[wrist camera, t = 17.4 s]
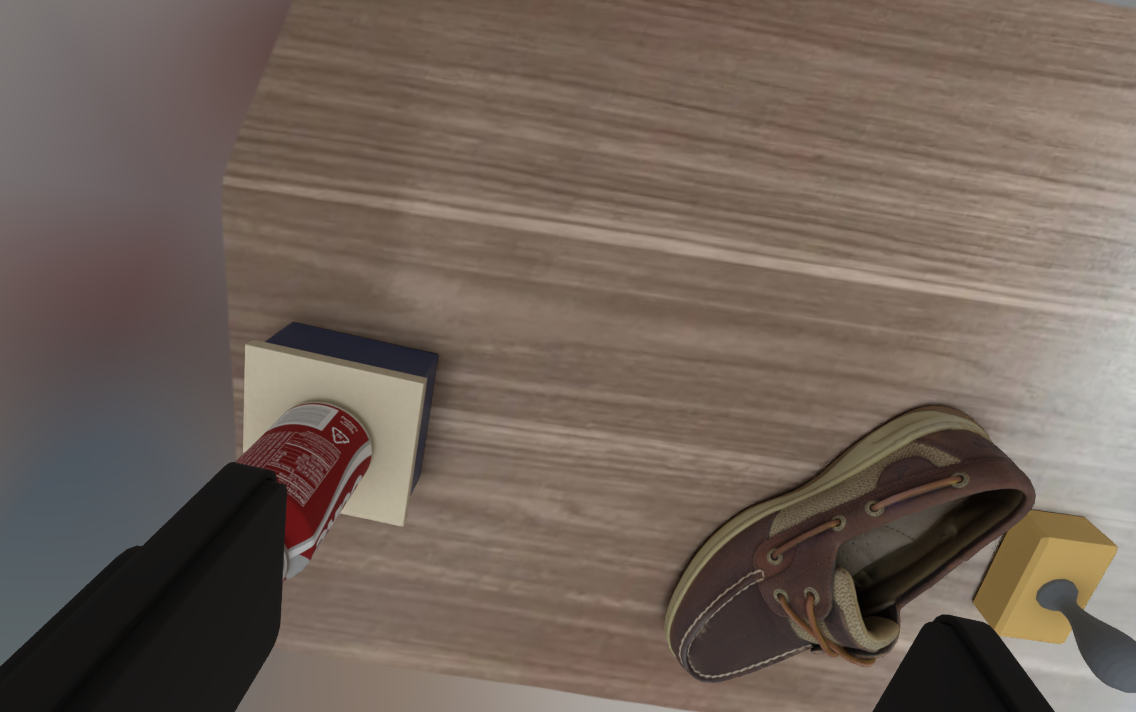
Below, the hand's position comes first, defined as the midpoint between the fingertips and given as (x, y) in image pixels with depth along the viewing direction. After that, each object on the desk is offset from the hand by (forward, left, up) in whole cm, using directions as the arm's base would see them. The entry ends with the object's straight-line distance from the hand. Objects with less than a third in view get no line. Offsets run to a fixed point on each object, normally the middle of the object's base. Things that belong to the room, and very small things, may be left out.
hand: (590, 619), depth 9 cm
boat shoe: (+23, -22, -36) cm, 48 cm away
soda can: (-15, -19, -31) cm, 39 cm away
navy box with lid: (-15, -19, -36) cm, 44 cm away
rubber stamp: (+41, -20, -36) cm, 58 cm away
